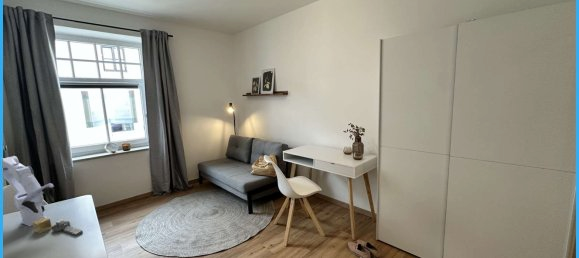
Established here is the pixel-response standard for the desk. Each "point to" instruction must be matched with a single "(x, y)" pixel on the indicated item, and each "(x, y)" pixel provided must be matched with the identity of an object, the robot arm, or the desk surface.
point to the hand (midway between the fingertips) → (44, 206)
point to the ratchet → (65, 228)
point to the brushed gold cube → (42, 225)
